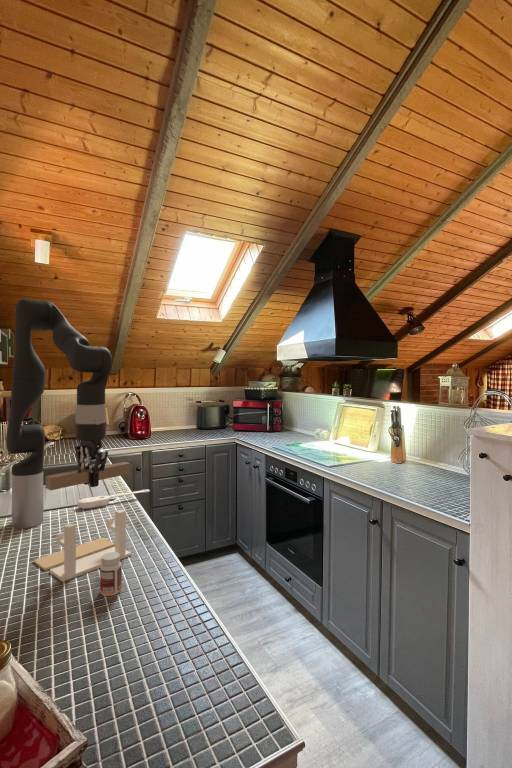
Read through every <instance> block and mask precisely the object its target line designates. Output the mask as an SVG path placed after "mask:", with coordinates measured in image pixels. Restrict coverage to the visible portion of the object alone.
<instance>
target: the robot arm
mask: <svg viewBox="0 0 512 768" xmlns="http://www.w3.org/2000/svg"><path fill="white" fill-rule="evenodd" d="M32 331H40V332H41V331H42V332H45V331H50V332H52V335H51V336H52V341H53V343H54V346H55V347H56V348H57V349H58V350H59V351H60V352H62V353H63V354H64V355H65V357H66V359H67V361H68V364H69V366H70V368H71V369H72V370H74V371H75V372H78V373H92V374H91V377H90V379H88V380H86V381H82V382H79V383H78V384H77V386H76V407H75V408H76V409H75V439H76V440H77V441H80V443H79V445H75V446H74V450H75V451H74V452H75V456H76V461H77V466H78V468H80V470H82V469H87V468H89V469H90V482H89V483H84V484H83V485H84V486H86V485H89V487H91V488H96V487H98V486H99V485H100V482H99V481H100V480H99V472H100V471H104V468H105V465H107V464H106V463H107V459H108V456H109V451H108V450H104V449H103V445H102V440H104V439H106V437H107V409H106V389H107V388H106V387H107V384H108V380H109V378H110V373H111V370H112V366H113V356H112V354H111V353H112V352H111V351H110V350H109V349H108V348H107V347H105V346H97V345H95V346H92V345H90V341H89V340H88V339H87V338H86V337H85V336H84V334H83V335H82V333H80V332H79V331H78V330H77V329H75V328H74V327H73V326H72V325H71V324H70V322H69V321H68V320H67V318H66V317H65V315H64V314H63V313H62V312H61V311H60V309H59V308H58V306H57V305H56V304H54V303H53V302H51V301H49V300H48V301H47V300H39V299H31V298H30V299H27V298H23V299H22V298H21V299H19V300H18V301H17V302H16V305H15V308H14V357H13V367H12V376H11V389H10V390H11V392H10V410H9V417H8V421H7V422H8V424H7V430H6V439H5V445H6V446H5V447H6V450H7V452H8V453H9V454H11V455H12V454H13V455H16V454H17V455H18V454H28V453H30V455H29V456H27V457H25V459H23V460H21V461H19V462H16V463H15V464H13V465H12V467H11V527H13V529H28V528H32V527H36V526H39V525H41V524H42V523H43V522H44V464H45V457H44V455H45V442H46V441H45V439H46V436H45V428H44V427H43V425H41V424H37V423H36V424H23V421H24V419H25V417H26V415H27V414H28V412H29V411H30V409H32V408H33V406H34V405H35V404H36V403H37V402H38V401H39V400H40V398H41V397H42V396H43V394H44V391H45V387H46V376H47V371H46V367H45V366H44V364H43V362H42V360H41V359H40V357H39V356H38V355H37V353H36V351H35V349H34V347H33V343H32ZM93 467H94V468H93Z"/></svg>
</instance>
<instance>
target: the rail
mask: <svg viewBox="0 0 512 768" xmlns="http://www.w3.org/2000/svg"><path fill="white" fill-rule="evenodd" d="M93 468H94V466H93ZM130 474H131V463H130V462H126V461H120V462H115V463H111V464H105V468H104V471H100V472H99V481H103V480H108V479H112V478H117V477H121V476H126V475H130ZM44 481H45V482H44V483H45V489H46V490H49V491H54V490H59V489H64V488H69V487H73V486H79V485H82V484H83V485H85V484H84V483H89V482H90V469H89V468H87V469H77V470H71V471H65V472H60V473H54V474H49V475H45V480H44Z"/></svg>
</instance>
